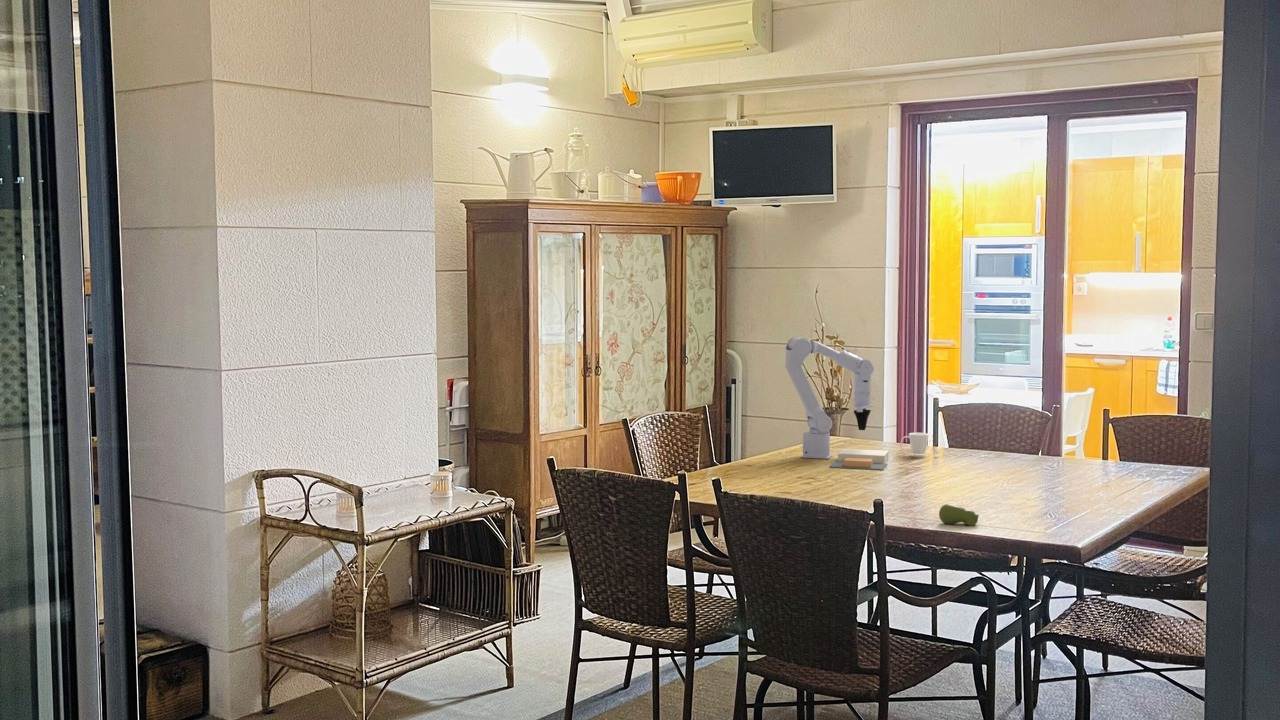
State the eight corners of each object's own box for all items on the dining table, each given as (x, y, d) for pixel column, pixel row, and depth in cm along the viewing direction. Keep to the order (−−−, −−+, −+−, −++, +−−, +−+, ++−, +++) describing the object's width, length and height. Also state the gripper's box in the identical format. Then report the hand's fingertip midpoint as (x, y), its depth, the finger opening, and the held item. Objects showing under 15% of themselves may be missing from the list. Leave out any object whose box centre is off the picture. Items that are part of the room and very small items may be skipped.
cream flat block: (837, 462, 407) (838, 453, 407) (843, 457, 418) (843, 448, 418) (884, 464, 402) (884, 455, 402) (888, 459, 413) (888, 450, 413)
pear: (940, 500, 308) (979, 508, 306) (937, 519, 309) (975, 527, 307) (941, 504, 303) (980, 512, 301) (937, 524, 303) (976, 532, 301)
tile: (846, 457, 401) (846, 463, 401) (843, 460, 395) (843, 466, 396) (872, 458, 398) (872, 464, 399) (870, 461, 393) (870, 467, 393)
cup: (929, 457, 417) (929, 435, 416) (900, 457, 419) (900, 434, 418) (927, 454, 424) (928, 432, 423) (899, 454, 425) (899, 432, 425)
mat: (829, 467, 395) (829, 466, 395) (834, 462, 407) (834, 461, 407) (883, 470, 390) (883, 469, 390) (887, 464, 401) (887, 463, 401)
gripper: (871, 394, 411) (870, 432, 412) (876, 390, 425) (875, 427, 426) (851, 394, 414) (850, 432, 415) (856, 390, 427) (856, 427, 428)
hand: (862, 429), depth 420 cm, fingers closed
